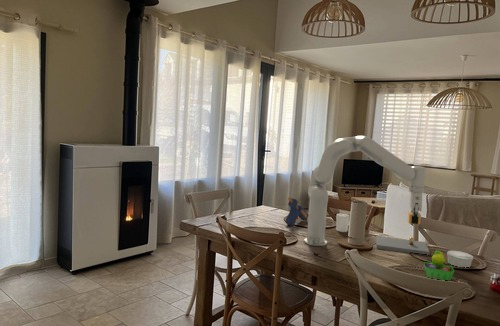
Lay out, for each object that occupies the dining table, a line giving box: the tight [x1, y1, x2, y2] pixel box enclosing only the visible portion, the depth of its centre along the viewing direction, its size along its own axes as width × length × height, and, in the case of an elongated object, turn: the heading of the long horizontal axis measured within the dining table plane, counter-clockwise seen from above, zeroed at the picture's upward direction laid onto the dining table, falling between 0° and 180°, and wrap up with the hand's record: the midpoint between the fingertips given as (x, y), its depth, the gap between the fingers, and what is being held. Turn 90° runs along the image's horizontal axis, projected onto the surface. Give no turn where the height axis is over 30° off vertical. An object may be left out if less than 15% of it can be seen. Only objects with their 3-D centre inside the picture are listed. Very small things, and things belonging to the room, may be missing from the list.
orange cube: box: [407, 211, 422, 225], centre depth 201 cm, size 6×6×5 cm
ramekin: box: [446, 250, 474, 269], centre depth 181 cm, size 11×11×5 cm
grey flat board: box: [375, 235, 431, 256], centre depth 204 cm, size 18×26×2 cm
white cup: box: [335, 213, 350, 233], centre depth 231 cm, size 8×8×10 cm
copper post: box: [408, 236, 415, 245], centre depth 202 cm, size 2×2×4 cm
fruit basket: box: [423, 250, 455, 281], centre depth 163 cm, size 11×9×11 cm
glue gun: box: [285, 197, 309, 227], centre depth 241 cm, size 6×31×15 cm
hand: (413, 221), depth 201 cm, fingers closed on orange cube, 5 cm apart
